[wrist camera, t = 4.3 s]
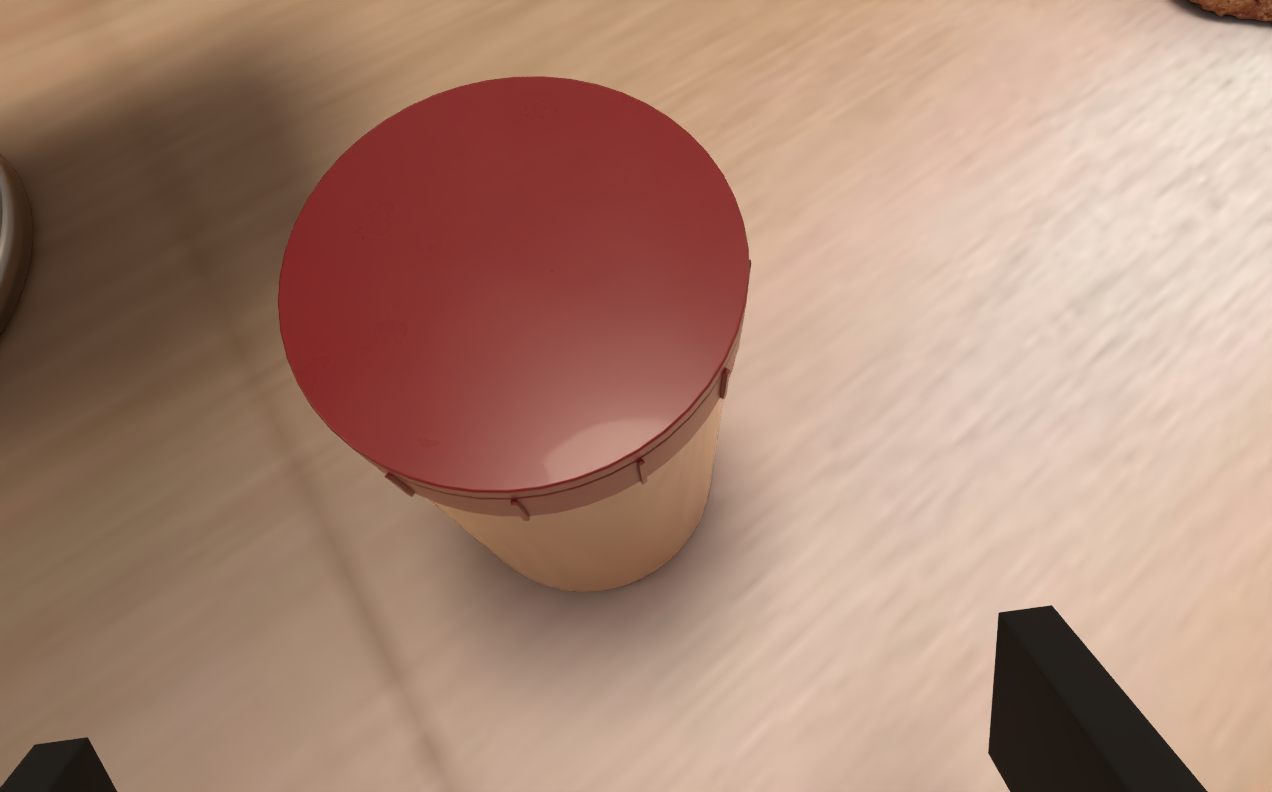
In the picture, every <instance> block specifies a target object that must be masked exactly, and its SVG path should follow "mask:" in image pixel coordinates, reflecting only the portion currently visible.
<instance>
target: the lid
mask: <svg viewBox="0 0 1272 792" xmlns="http://www.w3.org/2000/svg"><path fill="white" fill-rule="evenodd" d="M750 268H751V260H749V248H748V243H747V237H746V232H745V226H744V222H743V219H742V216H741V213H740V210H739V207H738V204H737V201H736V198H735V196H734V194H733V192H732V190H731V188H730V187H729V185H728V183H727V181H726V179H725V177H724V175H723V173H722V172H721V171H720V169H719V168H718V166H717V165H716V164H715V162H714V161H713V160H712V158H711V157H710V155H709V154H708V153H707V151H706V150H705V149H704V148H703V147H702V146H701V145H700V144H699V143H698V142H697V141H696V140H695V139H694V138H693V137H692V136H691V135H690V134H689V133H688V132H687V131H686V130H684V129H683V128H682V127H681V126H679V125H678V124H677V123H676V122H674V121H673V120H672V119H671V118H669V117H668V116H666V115H665V114H663V113H661V112H660V111H658V110H656V109H655V108H653V107H651V106H650V105H648V104H647V103H644V102H642V101H640V100H638V99H636V98H633V97H631V96H629V95H627V94H625V93H622V92H619V91H616V90H613V89H610V88H607V87H604V86H600V85H597V84H593V83H588V82H583V81H578V80H573V79H565V78H554V77H511V78H502V79H494V80H486V81H482V82H478V83H473V84H469V85H464V86H460V87H457V88H454V89H451V90H448V91H445V92H442V93H439V94H436V95H433V96H431V97H429V98H427V99H424V100H422V101H420V102H418V103H415V104H413V105H411V106H409V107H407V108H405V109H403V110H402V111H400V112H398V113H397V114H395V115H393V116H391V117H390V118H388V119H386V120H385V121H383V122H382V123H380V124H379V125H378V126H376V127H375V128H374V129H372V130H371V131H369V132H368V133H367V134H365V135H364V136H363V137H361V138H360V139H359V140H358V141H357V142H356V143H355V144H354V145H353V146H351V147H350V148H349V149H348V150H347V151H346V152H345V153H344V154H343V155H342V156H341V157H340V158H339V159H338V160H337V161H336V162H335V164H334V165H333V166H332V167H331V168H330V169H329V170H328V172H327V173H326V174H325V175H324V176H323V177H322V179H321V180H320V182H319V183H318V185H317V186H316V188H315V189H314V191H313V192H312V193H311V195H310V196H309V198H308V199H307V201H306V203H305V205H304V207H303V209H302V211H301V213H300V215H299V217H298V219H297V221H296V223H295V225H294V227H293V230H292V233H291V236H290V239H289V241H288V244H287V247H286V250H285V254H284V259H283V264H282V269H281V273H280V282H279V298H278V308H279V320H280V331H281V336H282V340H283V344H284V348H285V352H286V356H287V359H288V362H289V364H290V367H291V369H292V372H293V374H294V376H295V379H296V381H297V384H298V385H299V387H300V389H301V390H302V392H303V393H304V395H305V397H306V398H307V400H308V402H309V403H310V405H311V406H312V408H313V409H314V410H315V412H316V413H317V414H318V415H319V416H320V417H321V419H322V420H323V421H324V422H325V423H326V424H327V426H328V427H329V428H330V429H331V430H332V431H333V432H334V433H335V434H336V435H338V436H339V437H340V438H341V439H342V440H343V441H344V442H346V443H347V444H348V445H349V446H350V447H351V448H353V449H354V450H355V451H356V452H358V453H359V454H360V455H361V456H363V457H364V458H365V459H366V460H368V461H369V462H370V463H372V464H373V465H374V466H375V467H377V468H378V469H379V470H380V471H382V472H383V473H384V474H386V476H385V477H386V478H387V479H388V480H390V481H391V482H392V483H393V484H395V485H396V486H397V487H399V488H400V489H401V490H402V491H404V492H405V493H406V494H408V495H409V496H411V497H412V496H413V495H414V493H416V494H418V495H420V496H422V497H425V498H427V499H429V500H431V501H434V502H436V503H438V504H441V505H445V506H448V507H452V508H455V509H459V510H462V511H466V512H471V513H478V514H485V515H492V516H520V517H521V518H522V519H523V521H529V520H530V516H536V515H545V514H553V513H559V512H564V511H568V510H572V509H576V508H580V507H584V506H588V505H590V504H593V503H595V502H598V501H600V500H603V499H606V498H608V497H611V496H613V495H616V494H618V493H620V492H621V491H623V490H625V489H627V488H629V487H631V486H632V485H634V484H636V483H638V482H641V483H642V484H645V483H646V482H647V476H649V475H650V474H652V473H653V472H654V471H656V470H657V469H659V468H660V467H661V466H663V465H664V464H665V463H667V462H668V461H669V460H670V459H671V458H672V457H673V456H674V455H675V454H676V453H677V452H679V451H680V450H681V449H682V448H683V447H684V446H685V445H686V444H687V443H688V442H689V441H690V440H691V438H692V437H693V436H694V435H695V434H696V432H697V431H698V430H699V429H700V427H701V426H702V425H703V424H704V422H705V421H706V420H707V418H708V417H709V415H710V414H711V412H712V410H713V409H714V407H715V405H716V404H717V402H718V400H719V399H720V398H722V399H725V397H726V394H727V388H728V381H729V377H730V374H731V372H732V369H733V366H734V362H735V358H736V354H737V351H738V347H739V342H740V337H741V331H742V325H743V319H744V313H745V308H746V301H747V293H748V284H749V274H750Z"/></svg>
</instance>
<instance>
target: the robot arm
mask: <svg viewBox="0 0 1272 792" xmlns="http://www.w3.org/2000/svg"><path fill="white" fill-rule="evenodd" d="M32 243H33V223H32V216H31V209H30V205H29V202H28V198H27V194H26V192H25V190H24V188H23V185H22V183H21V181H20V179H19V178H18V176H17V174H16V173H15V171H14V169H13V168H12V167H11V166H10V165H9V163H8V162H7V161H6V160H5V159H4V158H3V157H2V156H1V155H0V334H1V332H2V331H3V329H4V328H5V326H6V324H7V322H8V320H9V318H10V316H11V315H12V313H13V311H14V309H15V306H16V304H17V302H18V299H19V297H20V295H21V292H22V289H23V286H24V283H25V280H26V277H27V273H28V269H29V264H30V259H31V252H32ZM988 753H989V755H990V757H991V759H992V760H993V762H994V764H995V766H996V767H997V769H998V771H999V773H1000V774H1001V776H1002V778H1003V780H1004V781H1005V783H1006V785H1007V787H1008V789H1009V790H1010V792H1207V791H1206V789H1205V788H1204V787H1203V786H1202V785H1201V783H1200V782H1199V781H1198V780H1197V779H1196V777H1195V776H1194V775H1193V774H1192V773H1191V771H1190V770H1189V769H1188V768H1187V767H1186V765H1185V764H1184V763H1183V762H1182V761H1181V759H1180V758H1179V757H1178V756H1177V755H1176V753H1175V752H1174V751H1173V750H1172V749H1171V747H1170V746H1169V745H1168V744H1167V743H1166V741H1165V740H1164V739H1163V738H1162V737H1161V735H1160V734H1159V733H1158V732H1157V731H1156V729H1155V728H1154V727H1153V726H1152V725H1151V724H1150V722H1149V721H1148V720H1147V719H1146V718H1145V716H1144V715H1143V714H1142V713H1141V712H1140V710H1139V709H1138V708H1137V707H1136V706H1135V704H1134V703H1133V702H1132V701H1131V700H1130V698H1129V697H1128V696H1127V695H1126V694H1125V692H1124V691H1123V690H1122V689H1121V688H1120V686H1119V685H1118V684H1117V683H1116V682H1115V680H1114V679H1113V678H1112V677H1111V676H1110V674H1109V673H1108V672H1107V671H1106V670H1105V668H1104V667H1103V666H1102V665H1101V664H1100V662H1099V661H1098V660H1097V659H1096V658H1095V656H1094V655H1093V654H1092V653H1091V652H1090V651H1089V649H1088V648H1087V647H1086V646H1085V645H1084V643H1083V642H1082V641H1081V640H1080V639H1079V637H1078V636H1077V635H1076V634H1075V633H1074V631H1073V630H1072V629H1071V628H1070V627H1069V625H1068V624H1067V623H1066V622H1065V621H1064V619H1063V618H1062V617H1061V616H1060V615H1059V613H1058V612H1057V611H1056V610H1055V609H1054V607H1053V606H1052V605H1051V606H1044V607H1037V608H1030V609H1022V610H1015V611H1008V612H1000V613H999V616H998V630H997V643H996V657H995V670H994V684H993V697H992V711H991V725H990V738H989V752H988ZM0 792H117V790H116V789H115V787H114V785H113V783H112V781H111V779H110V777H109V776H108V774H107V772H106V770H105V768H104V766H103V765H102V763H101V761H100V759H99V757H98V755H97V754H96V752H95V750H94V748H93V746H92V744H91V742H90V741H89V739H88V738H80V739H73V740H66V741H58V742H51V743H44V744H36V745H34V746H33V747H32V749H31V750H30V751H29V752H28V754H27V755H26V756H25V757H24V759H23V760H22V761H21V762H20V764H19V765H18V766H17V767H16V769H15V770H14V771H13V772H12V774H11V775H10V776H9V777H8V779H7V780H6V781H5V782H4V784H3V785H2V786H1V787H0Z"/></svg>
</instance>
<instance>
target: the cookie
mask: <svg viewBox="0 0 1272 792" xmlns="http://www.w3.org/2000/svg"><path fill="white" fill-rule="evenodd" d="M1189 1H1191V2H1194V3H1197V4H1198V6H1199V8H1202V9H1205V10H1208V11H1214V12H1215V13H1216V14H1217V15H1219V16H1220V17H1221V16H1223V15H1224V14H1227V15H1233V16H1235V17H1237V18H1239V19H1249V18H1251V19H1256V20H1260V21H1271V22H1272V0H1189Z"/></svg>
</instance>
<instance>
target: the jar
mask: <svg viewBox="0 0 1272 792" xmlns="http://www.w3.org/2000/svg"><path fill="white" fill-rule="evenodd" d="M722 405H723V399H722V398H720V399H719V400H718V402H717V404H716V405H715V407H714V409H713V410H712V412H711V414H710V415H709V417H708V418H707V420H706V421H705V422H704V424H703V425H702V426H701V427H700V429H699V430H698V431H697V432H696V434H695V435H694V436H693V437H692V438H691V440H690V441H689V442H688V443H687V444H686V445H685V446H684V447H683V448H682V449H681V450H680V451H679V452H677V453H676V454H675V455H674V456H673V457H672V458H671V459H670V460H669V461H668V462H667V463H665V464H664V465H663V466H661V467H660V468H659V469H657V470H656V471H654V472H653V473H652V474H650V475H649V476H647V482H646V483H645V484H642V483H641V482H638V483H636V484H634V485H632V486H631V487H629V488H627V489H625V490H623V491H621V492H620V493H618V494H616V495H613V496H611V497H608V498H606V499H603V500H600V501H598V502H595V503H593V504H590V505H588V506H584V507H580V508H576V509H572V510H568V511H564V512H559V513H553V514H545V515H536V516H530V520H529V521H523V519H522V518H521V517H520V516H492V515H485V514H478V513H471V512H466V511H462V510H459V509H455V508H452V507H448V506H445V505H441V504H438V503H436V502H434V501H431V500H430V501H431V502H432V503H433V504H435V505H436V506H437V507H438V508H440V509H441V510H442V511H443V512H444V513H446V514H447V515H448V516H449V517H450V518H452V519H453V520H454V521H455V522H457V523H458V524H459V525H460V526H461V527H463V528H464V529H465V530H466V531H467V532H469V533H470V534H471V535H472V536H474V537H475V538H476V539H477V540H478V541H480V542H481V543H482V544H483V545H484V546H486V547H487V548H488V549H489V550H491V551H492V552H493V553H494V554H495V555H497V556H498V557H499V558H500V559H502V560H503V561H504V562H505V563H506V564H508V565H509V566H510V567H511V568H512V569H514V570H516V571H517V572H519V573H520V574H522V575H523V576H525V577H527V578H529V579H531V580H533V581H535V582H538V583H540V584H542V585H546V586H549V587H552V588H556V589H561V590H567V591H574V592H594V591H602V590H609V589H613V588H617V587H621V586H625V585H627V584H630V583H632V582H635V581H637V580H640V579H642V578H643V577H645V576H647V575H649V574H651V573H652V572H654V571H656V570H657V569H658V568H660V567H661V566H662V565H664V564H665V563H666V562H668V561H669V560H670V559H671V558H672V557H673V556H674V555H675V554H676V553H677V552H678V551H679V550H680V549H681V548H682V546H683V545H684V544H685V543H686V541H687V540H688V539H689V538H690V536H691V535H692V533H693V531H694V529H695V528H696V526H697V524H698V523H699V521H700V518H701V516H702V513H703V511H704V509H705V506H706V502H707V498H708V495H709V491H710V484H711V477H712V471H713V464H714V458H715V451H716V444H717V438H718V431H719V425H720V418H721V411H722Z"/></svg>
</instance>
